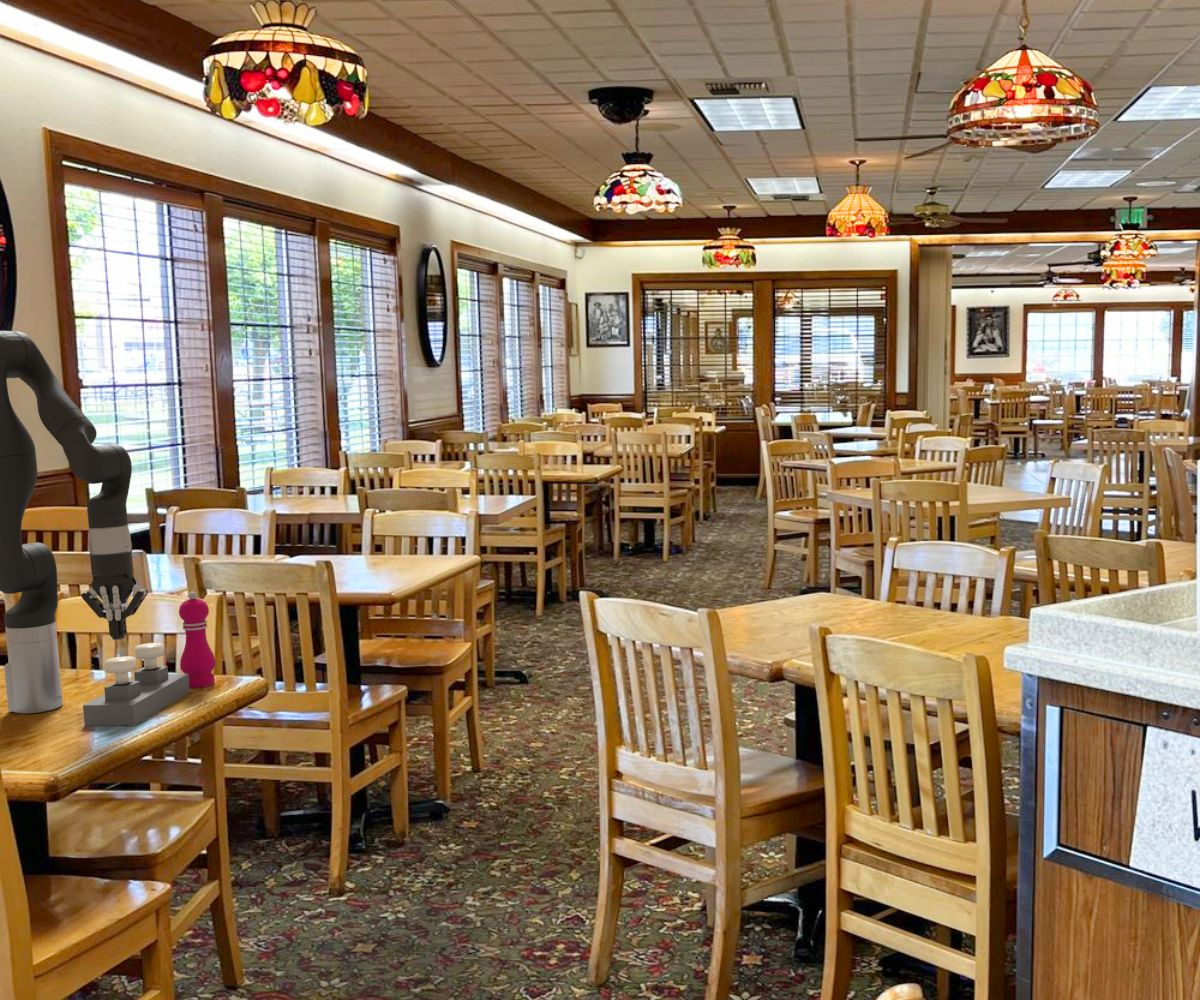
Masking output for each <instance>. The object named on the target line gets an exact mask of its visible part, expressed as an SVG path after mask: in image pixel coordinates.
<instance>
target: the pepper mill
mask: <svg viewBox="0 0 1200 1000" xmlns="http://www.w3.org/2000/svg"><path fill="white" fill-rule="evenodd" d="M187 597H188V599H186V600H184V601H183V602H182V603H181V604H180V606H179V610H178V615H179V617H180V619H182V621H183V623H181V624H182V629H183V631H184V633H185V644H184V649H183V651H182V654H181V656H180V661H179V664H180V665H179V669H180V671H182V674H188V676H189V689H191V688H192V689H193V688H194V689H196V688H198V689H199V688H204V687H210V686H212V685H214V684H215V681H216V680H215V674H214V673H212V672H213V671H214V669H215V668H216V664H217V663H216V657H215V655H214V652H213V650H212V649H211V646H210V645H209V643H208V639H207V634H206V631H207V630H206V629H207V628H208V624H207V623H208V620H206V618H207V617H208V615H209V613H210V611H209V610H210V609H209V605H208V603H207V601H205V600H203V599H200V598H198V594H197V592H195V591H190V592H189V593H188V596H187Z"/></svg>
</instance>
